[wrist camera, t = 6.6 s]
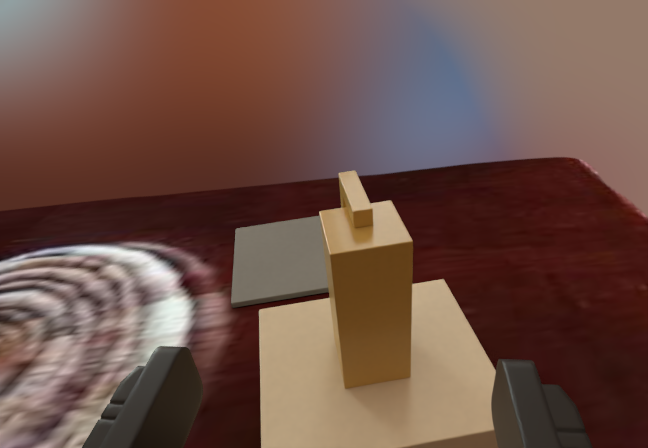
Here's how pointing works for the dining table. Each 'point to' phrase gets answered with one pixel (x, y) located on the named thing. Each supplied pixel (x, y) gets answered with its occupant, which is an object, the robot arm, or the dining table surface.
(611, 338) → the dining table surface
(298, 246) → the left mat
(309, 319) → the beige rectangular block
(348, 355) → the golden block with ridge
